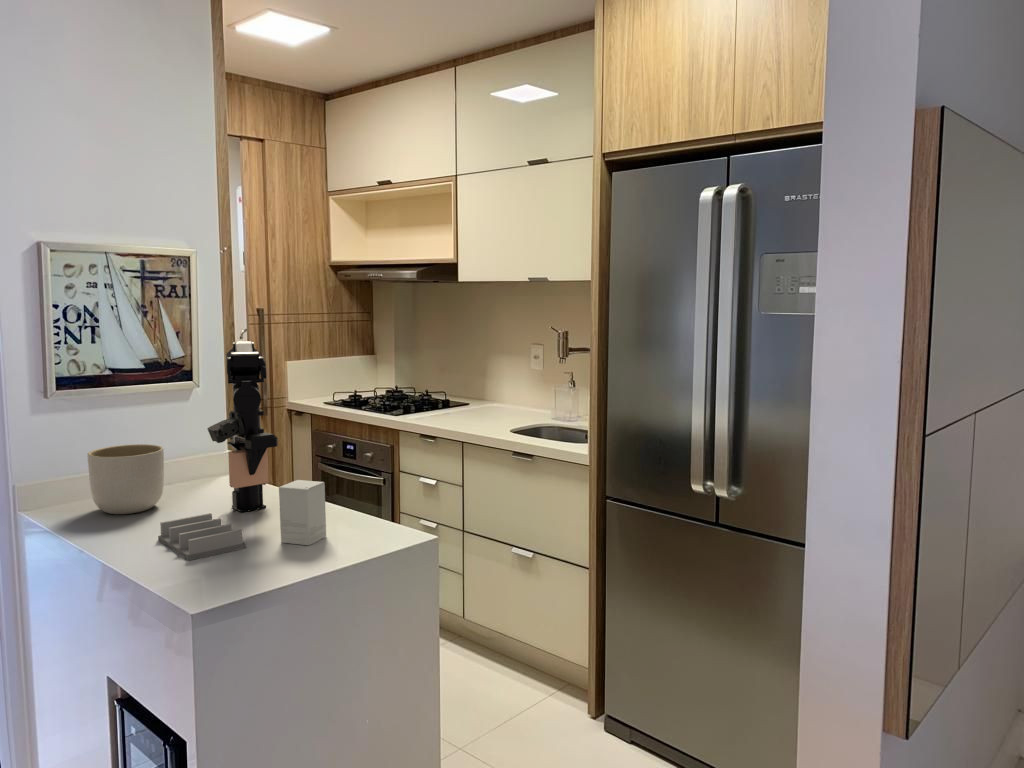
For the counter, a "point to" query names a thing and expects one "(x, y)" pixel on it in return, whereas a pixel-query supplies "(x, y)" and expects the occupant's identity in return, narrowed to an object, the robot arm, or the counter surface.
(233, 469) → the tall clay brick
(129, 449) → the planter
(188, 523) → the dish rack
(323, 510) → the supplement box
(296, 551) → the counter surface
